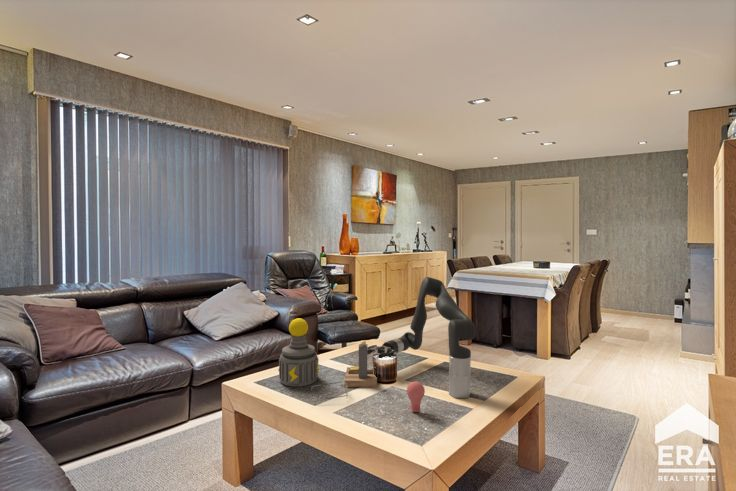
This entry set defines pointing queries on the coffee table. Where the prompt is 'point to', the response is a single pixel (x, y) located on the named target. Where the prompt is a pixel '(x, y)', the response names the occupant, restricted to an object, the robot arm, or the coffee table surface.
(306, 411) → the coffee table surface
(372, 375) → the socket board
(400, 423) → the coffee table surface
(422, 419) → the coffee table surface
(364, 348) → the plug
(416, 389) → the light bulb
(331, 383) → the eyeglasses
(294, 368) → the decorative lamp
